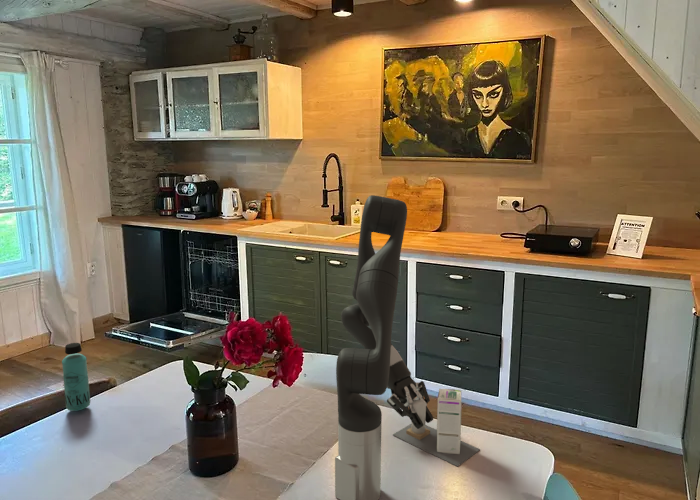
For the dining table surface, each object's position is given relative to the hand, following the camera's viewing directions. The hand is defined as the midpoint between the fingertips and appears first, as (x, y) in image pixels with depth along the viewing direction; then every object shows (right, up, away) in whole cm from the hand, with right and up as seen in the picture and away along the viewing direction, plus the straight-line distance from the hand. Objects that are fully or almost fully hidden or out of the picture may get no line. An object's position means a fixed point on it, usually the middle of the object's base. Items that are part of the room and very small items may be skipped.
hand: (425, 424), depth 141 cm
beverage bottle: (-97, -1, +15) cm, 98 cm away
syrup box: (+5, -5, -4) cm, 8 cm away
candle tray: (+2, -4, -1) cm, 5 cm away
